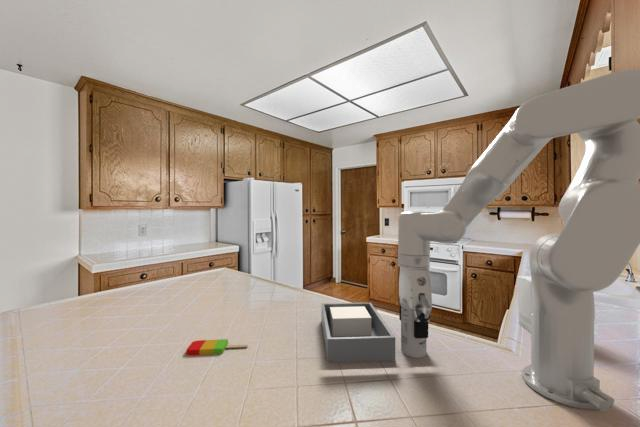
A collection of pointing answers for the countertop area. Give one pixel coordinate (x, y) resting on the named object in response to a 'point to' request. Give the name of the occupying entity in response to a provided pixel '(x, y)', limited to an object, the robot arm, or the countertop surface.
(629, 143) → the robot arm
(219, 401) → the countertop surface
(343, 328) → the cream white box
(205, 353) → the popsicle
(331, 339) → the grocery crate
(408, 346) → the energy drink can
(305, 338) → the countertop surface
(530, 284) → the skincare box
